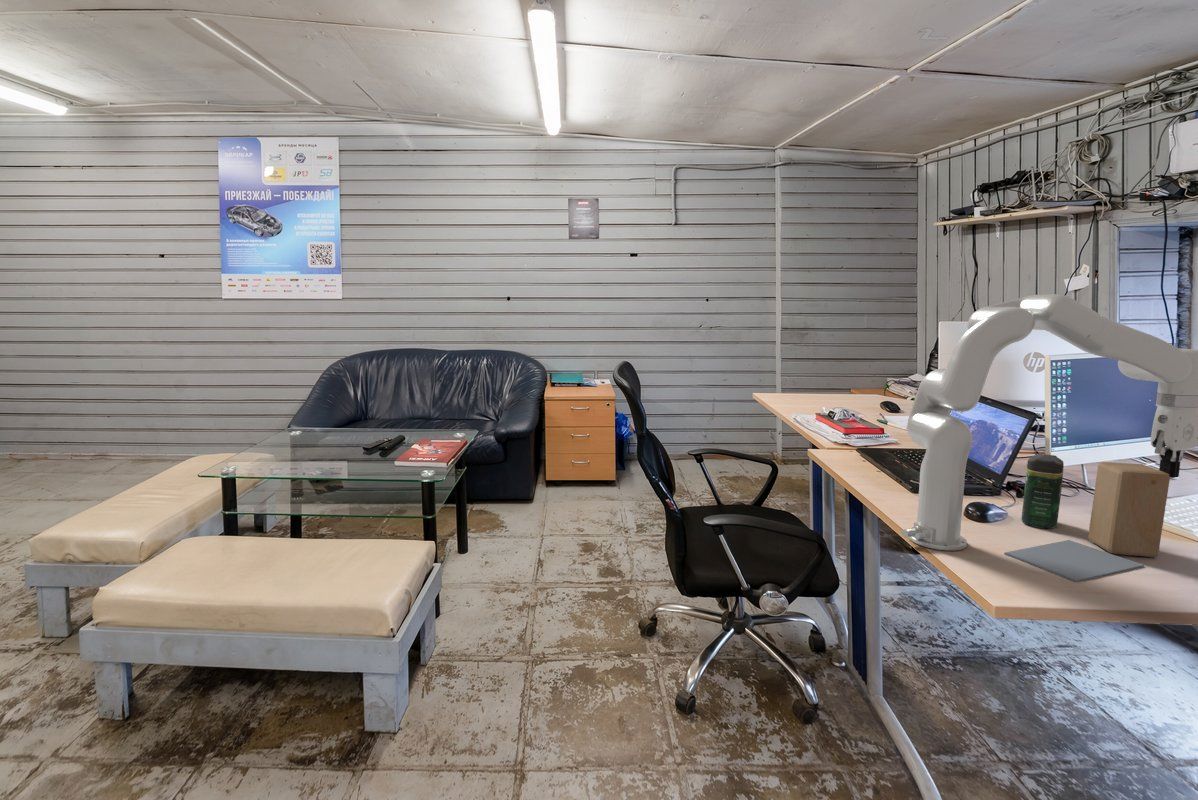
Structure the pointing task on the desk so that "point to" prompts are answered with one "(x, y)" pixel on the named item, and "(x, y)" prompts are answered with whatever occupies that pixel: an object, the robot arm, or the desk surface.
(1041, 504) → the coffee jar
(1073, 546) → the mat
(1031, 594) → the desk surface
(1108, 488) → the wooden block
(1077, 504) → the desk surface
